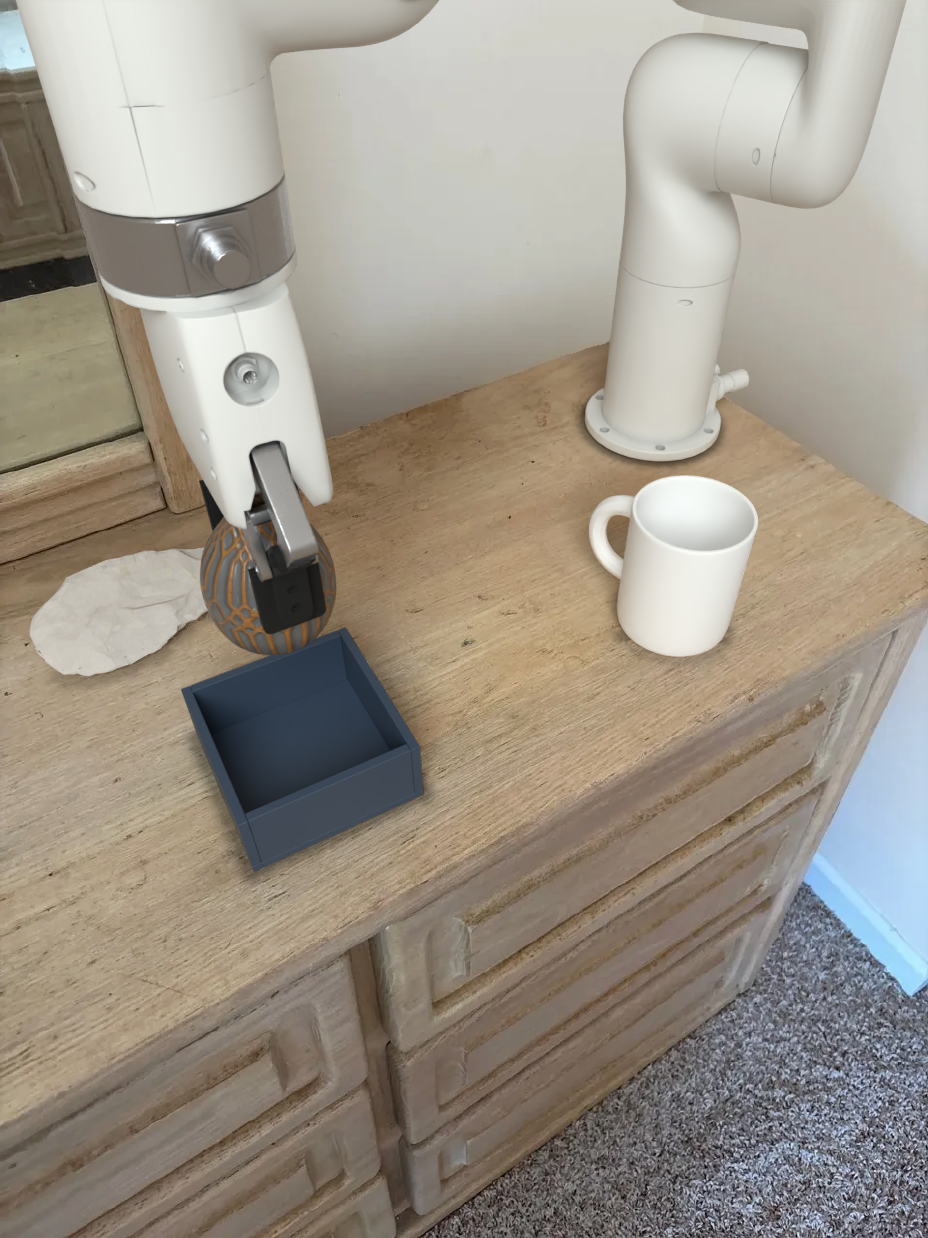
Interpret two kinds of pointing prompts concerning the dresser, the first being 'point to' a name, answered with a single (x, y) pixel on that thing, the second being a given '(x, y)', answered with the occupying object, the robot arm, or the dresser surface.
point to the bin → (304, 746)
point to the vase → (234, 594)
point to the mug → (677, 561)
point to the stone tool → (118, 611)
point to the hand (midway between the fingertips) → (268, 573)
